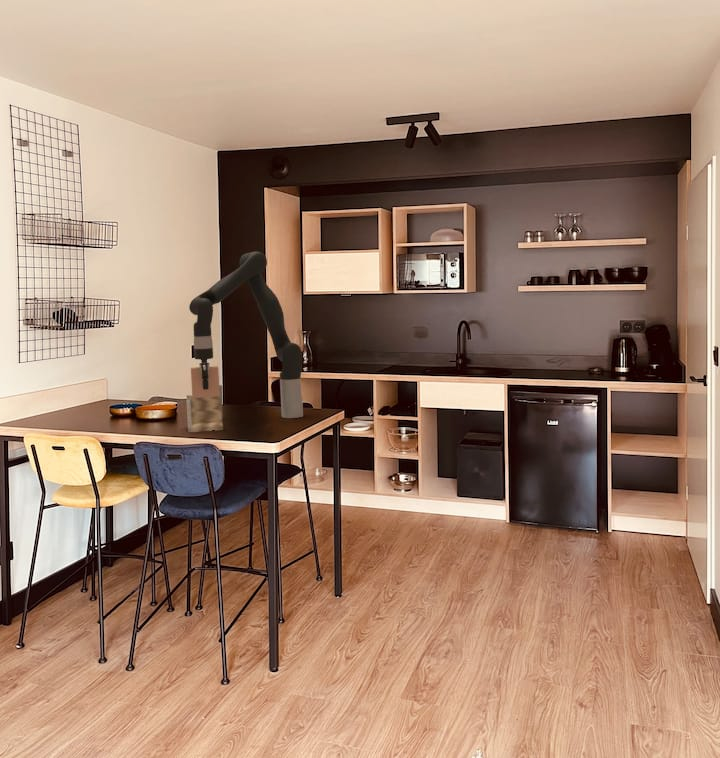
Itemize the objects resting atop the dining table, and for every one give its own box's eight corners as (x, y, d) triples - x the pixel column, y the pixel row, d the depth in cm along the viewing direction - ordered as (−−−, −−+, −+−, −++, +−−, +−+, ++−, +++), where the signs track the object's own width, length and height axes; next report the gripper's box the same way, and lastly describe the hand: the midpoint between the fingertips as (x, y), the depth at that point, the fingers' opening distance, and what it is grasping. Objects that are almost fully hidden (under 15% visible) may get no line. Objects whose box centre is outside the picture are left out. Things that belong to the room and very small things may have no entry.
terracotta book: (219, 394, 310) (217, 366, 309) (219, 396, 306) (218, 367, 304) (192, 396, 308) (190, 367, 306) (192, 398, 303) (190, 368, 302)
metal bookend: (192, 423, 315) (190, 397, 313) (191, 428, 304) (190, 401, 302) (188, 423, 314) (186, 398, 313) (188, 428, 303) (186, 402, 302)
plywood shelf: (222, 424, 319) (220, 393, 317) (223, 429, 306) (221, 397, 305) (188, 426, 316) (186, 395, 314) (188, 432, 303) (186, 399, 302)
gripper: (213, 348, 298) (215, 390, 300) (212, 345, 312) (214, 385, 314) (193, 349, 297) (196, 391, 299) (194, 346, 310) (196, 386, 313)
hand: (205, 388), depth 306 cm, fingers closed on terracotta book, 4 cm apart
